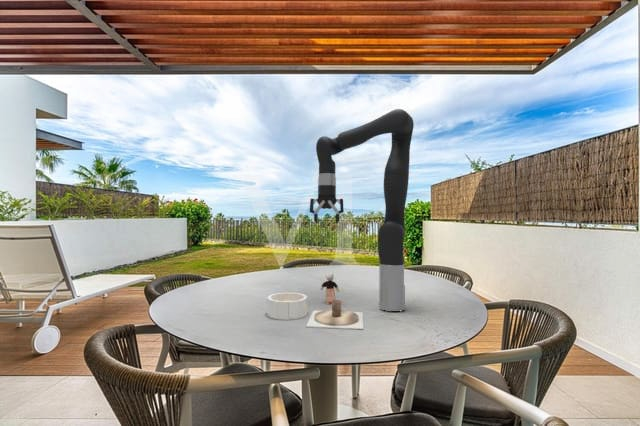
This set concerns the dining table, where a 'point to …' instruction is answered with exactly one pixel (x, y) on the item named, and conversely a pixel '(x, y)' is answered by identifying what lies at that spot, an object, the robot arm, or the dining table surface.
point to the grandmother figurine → (330, 288)
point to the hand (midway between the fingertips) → (326, 223)
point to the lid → (336, 316)
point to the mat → (314, 324)
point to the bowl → (287, 306)
